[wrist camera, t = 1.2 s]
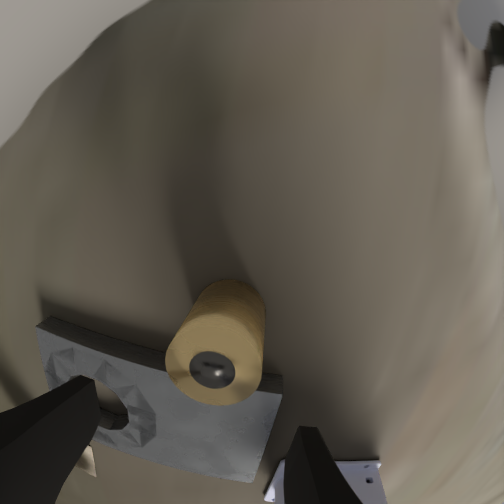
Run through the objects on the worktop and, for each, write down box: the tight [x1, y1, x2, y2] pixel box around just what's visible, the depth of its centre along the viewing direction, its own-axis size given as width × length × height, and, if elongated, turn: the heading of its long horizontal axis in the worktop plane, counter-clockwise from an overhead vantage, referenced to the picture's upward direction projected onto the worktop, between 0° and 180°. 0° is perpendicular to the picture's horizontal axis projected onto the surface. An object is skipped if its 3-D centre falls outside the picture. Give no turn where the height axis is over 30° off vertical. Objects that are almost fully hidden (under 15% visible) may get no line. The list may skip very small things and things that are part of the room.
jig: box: [35, 316, 283, 483], centre depth 19 cm, size 18×11×2 cm, turn 81°
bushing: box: [165, 280, 266, 406], centre depth 15 cm, size 4×4×6 cm
